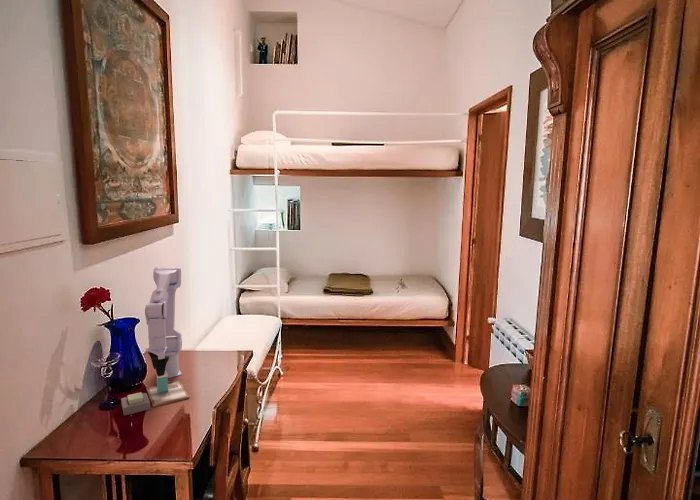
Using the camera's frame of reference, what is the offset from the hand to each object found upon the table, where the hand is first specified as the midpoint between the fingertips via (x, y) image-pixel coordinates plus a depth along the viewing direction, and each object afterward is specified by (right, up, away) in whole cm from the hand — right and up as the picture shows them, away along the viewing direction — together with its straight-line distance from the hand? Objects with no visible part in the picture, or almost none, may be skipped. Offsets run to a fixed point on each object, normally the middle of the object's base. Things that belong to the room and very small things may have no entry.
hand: (158, 371), depth 153 cm
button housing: (-4, -10, -8) cm, 13 cm away
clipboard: (+2, -9, +3) cm, 9 cm away
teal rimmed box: (0, -8, +3) cm, 8 cm away
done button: (-4, -9, -8) cm, 12 cm away
